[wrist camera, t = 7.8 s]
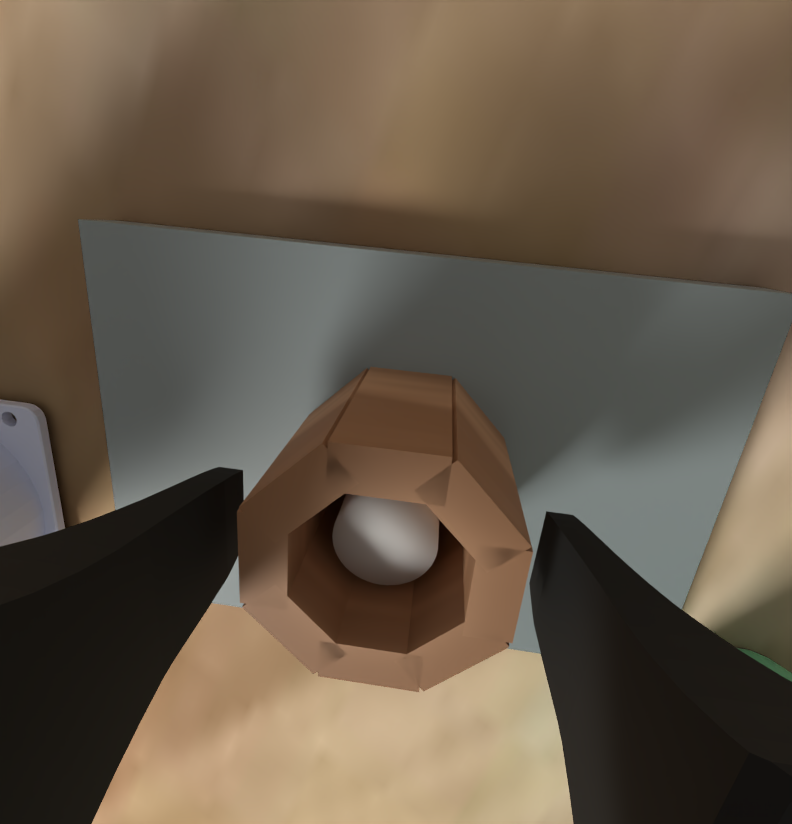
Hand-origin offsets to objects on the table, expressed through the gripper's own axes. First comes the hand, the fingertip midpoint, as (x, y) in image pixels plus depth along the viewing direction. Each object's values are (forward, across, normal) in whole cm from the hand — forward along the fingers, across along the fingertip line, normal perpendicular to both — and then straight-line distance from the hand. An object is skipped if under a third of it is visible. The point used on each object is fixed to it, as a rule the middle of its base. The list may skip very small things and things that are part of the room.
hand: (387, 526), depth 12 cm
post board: (+4, 0, 0) cm, 4 cm away
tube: (+3, 0, 0) cm, 3 cm away
